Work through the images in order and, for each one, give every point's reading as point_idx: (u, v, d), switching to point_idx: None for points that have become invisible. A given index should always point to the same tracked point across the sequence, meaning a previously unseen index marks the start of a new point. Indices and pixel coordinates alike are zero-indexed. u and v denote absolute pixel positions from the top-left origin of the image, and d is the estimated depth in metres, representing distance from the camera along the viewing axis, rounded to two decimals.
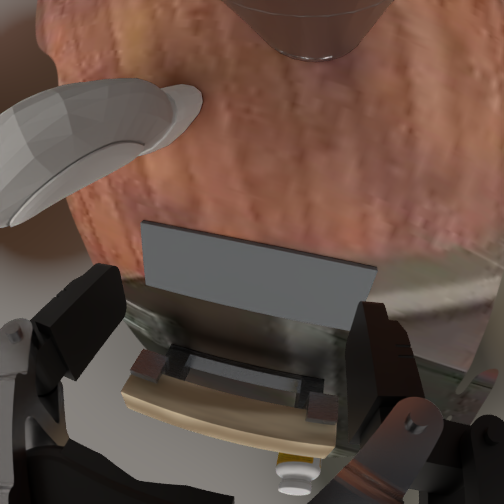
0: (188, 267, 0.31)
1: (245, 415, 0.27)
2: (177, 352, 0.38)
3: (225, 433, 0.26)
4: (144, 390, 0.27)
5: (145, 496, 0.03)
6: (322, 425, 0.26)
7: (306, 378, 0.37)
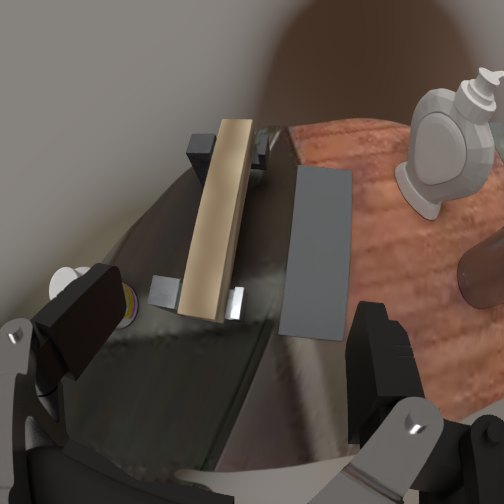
0: (322, 200, 0.41)
1: (235, 228, 0.30)
2: None
3: (220, 206, 0.29)
4: (250, 140, 0.33)
5: (145, 496, 0.03)
6: (222, 306, 0.28)
7: None
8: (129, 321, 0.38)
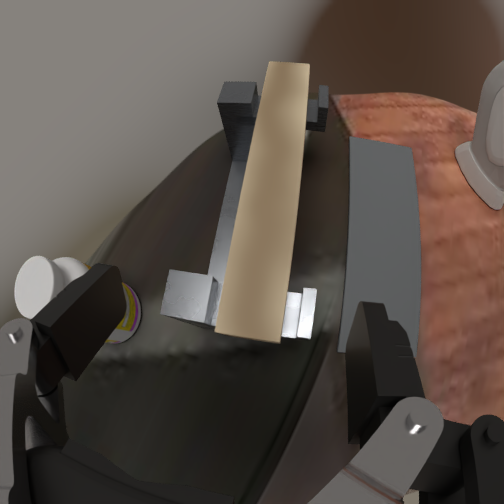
0: (383, 179, 0.31)
1: (298, 200, 0.20)
2: None
3: (279, 164, 0.19)
4: None
5: (145, 496, 0.03)
6: None
7: None
8: (129, 334, 0.27)
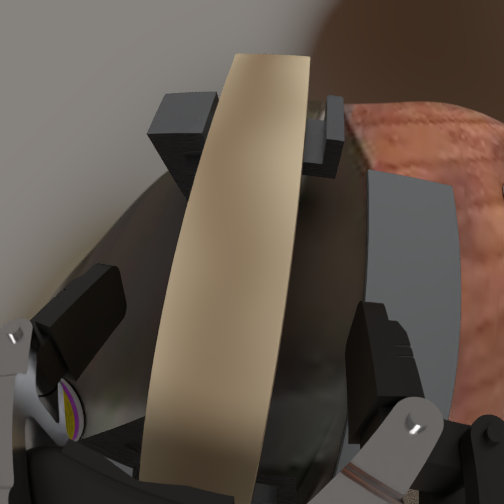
0: (415, 239, 0.20)
1: None
2: None
3: (232, 306, 0.08)
4: None
5: (145, 496, 0.03)
6: None
7: None
8: None
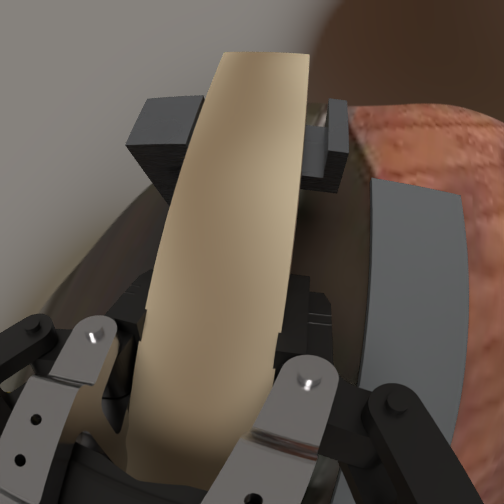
0: (422, 254, 0.19)
1: None
2: None
3: (214, 363, 0.07)
4: None
5: (145, 496, 0.03)
6: None
7: None
8: None
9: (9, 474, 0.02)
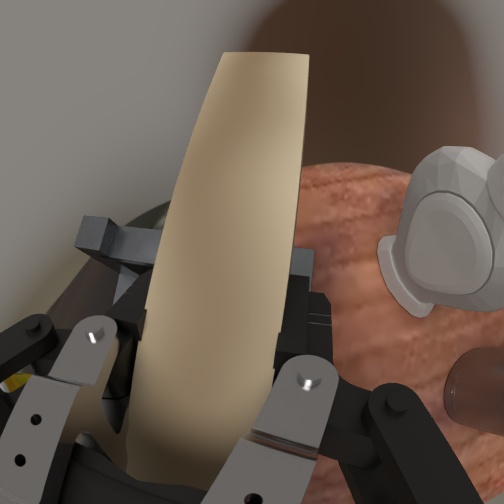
0: None
1: None
2: None
3: (212, 363, 0.07)
4: None
5: (145, 496, 0.03)
6: None
7: None
8: None
9: (9, 474, 0.02)
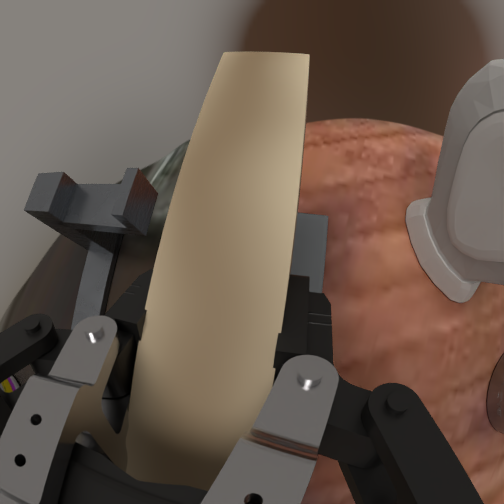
0: None
1: None
2: (116, 235, 0.25)
3: (213, 364, 0.07)
4: None
5: (145, 496, 0.03)
6: None
7: None
8: None
9: (9, 475, 0.02)
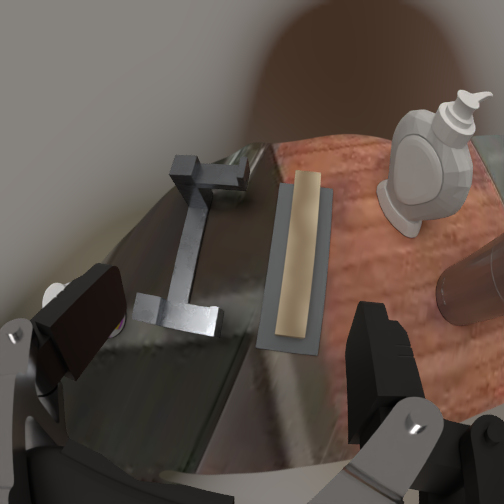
0: None
1: None
2: (209, 197, 0.45)
3: (303, 248, 0.37)
4: None
5: (145, 496, 0.03)
6: None
7: None
8: (117, 331, 0.39)
9: None
